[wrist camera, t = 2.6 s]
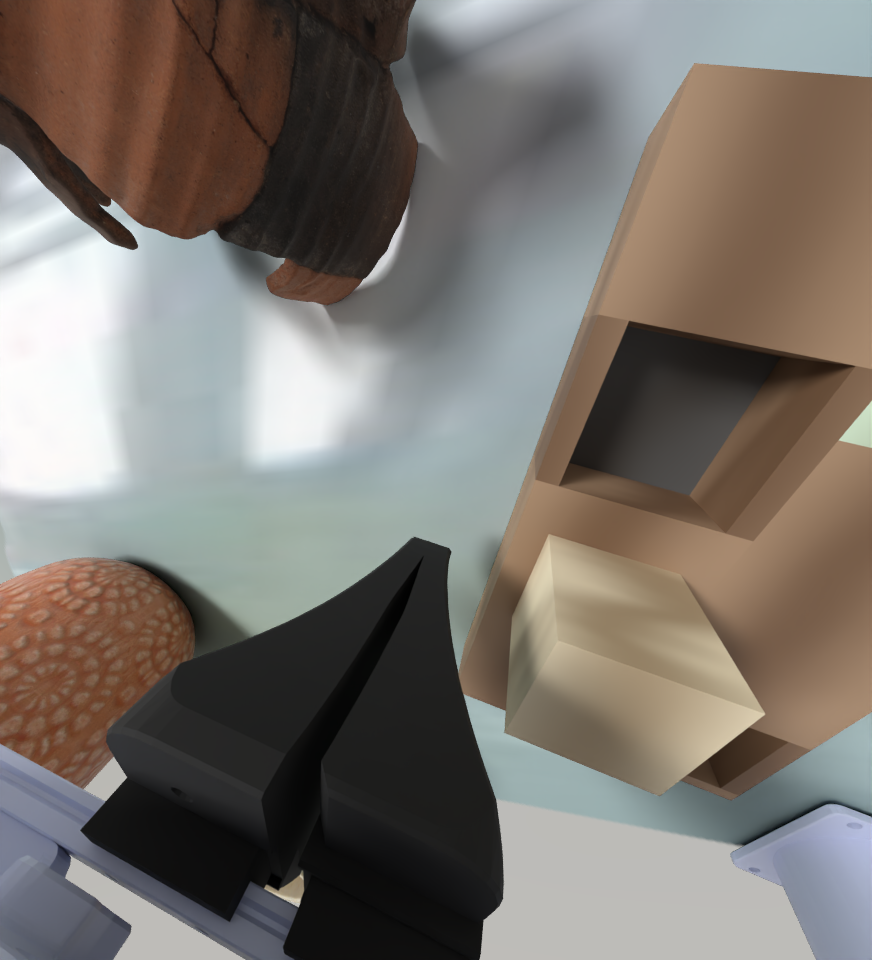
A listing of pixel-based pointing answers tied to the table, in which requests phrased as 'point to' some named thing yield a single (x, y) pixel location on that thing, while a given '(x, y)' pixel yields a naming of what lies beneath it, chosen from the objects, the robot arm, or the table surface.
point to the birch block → (620, 669)
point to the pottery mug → (219, 124)
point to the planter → (83, 657)
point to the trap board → (727, 405)
